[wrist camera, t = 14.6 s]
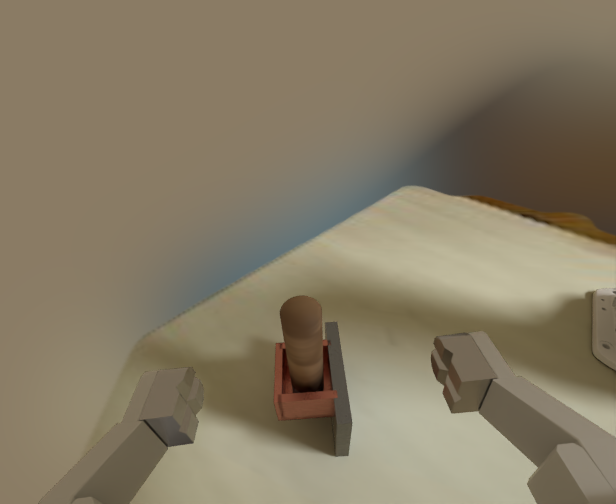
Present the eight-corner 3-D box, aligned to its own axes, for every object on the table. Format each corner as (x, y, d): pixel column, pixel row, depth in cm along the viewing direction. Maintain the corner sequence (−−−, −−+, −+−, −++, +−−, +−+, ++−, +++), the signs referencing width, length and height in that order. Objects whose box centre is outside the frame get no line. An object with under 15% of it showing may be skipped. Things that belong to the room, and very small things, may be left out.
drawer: (348, 455, 36) (352, 423, 29) (282, 460, 35) (272, 428, 29) (335, 361, 45) (336, 321, 39) (283, 365, 45) (276, 326, 38)
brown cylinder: (300, 366, 38) (291, 291, 29) (328, 377, 37) (328, 302, 28) (286, 394, 36) (272, 321, 27) (316, 407, 35) (311, 334, 26)
